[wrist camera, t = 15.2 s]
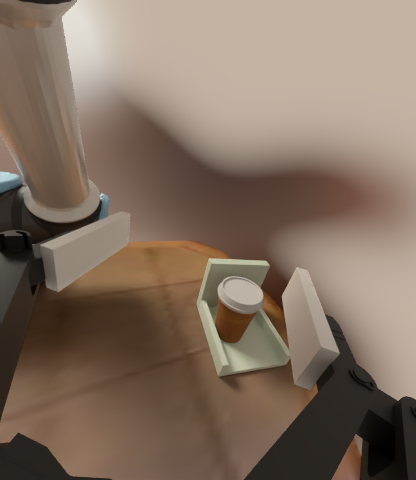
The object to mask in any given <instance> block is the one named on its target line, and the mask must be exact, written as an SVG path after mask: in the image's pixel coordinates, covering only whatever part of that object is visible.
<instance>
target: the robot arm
mask: <svg viewBox="0 0 416 480" xmlns="http://www.w3.org/2000/svg"><path fill="white" fill-rule="evenodd" d="M76 2H77V0H0V135H1V136H2V138H3V140H4V142H5V144H6V146H7V148H8V150H9V152H10V153H11V155H12V157H13V159H14V161H15V163H16V165H17V167H18V169H19V171H20V172H21V174H22V176H23V178H24V180H25V182H26V184H27V185H23V184H22V183H23V181H22V180H21V178H20V177H19V176H18V175H16V174H12V173H8V172H0V420H1V416H2V413H3V410H4V406H5V403H6V399H7V396H8V393H9V389H10V386H11V383H12V379H13V376H14V372H15V369H16V366H17V362H18V359H19V356H20V352H21V349H22V345H23V342H24V339H25V335H26V332H27V329H28V325H29V322H30V318H31V315H32V312H33V308H34V305H35V301H36V298H37V295H38V291H39V286H40V285H41V284H42V283H43V282H44V280H45V281H46V288H49V289H51V290H54V291H56V292H59V291H61V290H62V289H64V288H65V287H66V286H68V285H69V284H71V283H72V282H74V281H75V280H77V279H78V278H80V277H81V276H83V275H84V274H85V273H87V272H88V271H90V270H91V269H93V268H94V267H96V266H97V265H99V264H100V263H102V262H103V261H104V260H106V259H107V258H109V257H110V256H112V255H113V254H115V253H116V252H118V251H119V250H121V249H122V248H123V247H125V246H126V245H128V242H129V226H130V214H129V213H126V212H123V211H121V212H118V213H116V214H113V215H111V216H109V217H107V216H108V206H109V198H108V196H107V195H104V194H102V193H99V190H98V189H97V187H96V186H95V184H94V183H93V182H92V181H90V180H89V179H88V175H87V169H86V163H85V157H84V151H83V144H82V138H81V133H80V126H79V121H78V114H77V108H76V102H75V96H74V90H73V84H72V78H71V72H70V66H69V60H68V54H67V48H66V42H65V36H64V30H63V24H62V16H63V15H64V14H65V13H66V12H67V11H68V10H69V9H70V8H71V7H72V6H73V5H74V4H75V3H76ZM32 244H35V245H32ZM282 300H283V306H284V314H285V321H286V329H287V336H288V343H289V350H290V357H291V365H292V372H293V379H294V384H295V385H298V386H300V387H303V388H305V389H308V390H311V389H312V388H313V387H314V385H315V384H317V388H318V393H317V394H316V395H315V397H314V398H313V399H312V400H311V401H310V403H309V404H308V405H307V406H306V407H305V408H304V410H303V411H302V412H301V413H300V414H299V415H298V417H297V418H296V419H295V420H294V421H293V422H292V424H291V425H290V426H289V427H288V428H287V430H286V431H285V432H284V433H283V434H282V435H281V437H280V438H279V439H278V440H277V441H276V442H275V444H274V445H273V446H272V447H271V448H270V449H269V451H268V452H267V453H266V454H265V455H264V457H263V458H262V459H261V460H260V461H259V462H258V464H257V465H256V466H255V467H254V468H253V469H252V471H251V472H250V473H249V474H248V475H247V476H246V478H245V479H244V480H331V479H332V477H333V475H334V473H335V472H336V470H337V468H338V466H339V464H340V462H341V460H342V458H343V456H344V455H345V453H346V451H347V449H348V447H349V445H350V443H351V441H352V440H353V438H354V436H355V434H357V435H358V436H360V437H361V438H363V443H362V456H361V470H360V480H416V400H415V399H413V398H411V397H407V396H406V397H402V398H401V399H400V400H399V401H397V400H395V399H394V398H392V397H390V396H389V395H387V394H386V393H384V392H383V391H381V390H379V389H378V388H377V385H376V383H375V381H374V380H373V378H372V377H371V376H370V375H369V374H368V373H367V372H366V371H365V370H364V369H363V368H362V367H360V366H358V365H357V364H356V361H355V359H354V357H353V355H352V353H351V350H350V348H349V346H348V344H347V342H346V341H345V340H346V339H345V337H344V335H343V333H342V330H341V328H340V326H339V324H338V323H337V322H336V321H335V320H334V319H333V317H331V316H328V315H325V314H324V311H323V309H322V306H321V304H320V301H319V298H318V296H317V293H316V291H315V288H314V285H313V283H312V280H311V278H310V275H309V273H308V271H307V270H304V269H301V268H298V267H297V268H296V270H295V272H294V274H293V276H292V278H291V280H290V282H289V284H288V286H287V288H286V290H285V292H284V294H283V295H282ZM0 480H112V479H107V478H89V477H73V476H70V475H68V474H67V473H66V471H65V470H64V469H63V467H62V466H61V465H60V464H59V462H58V461H57V460H56V458H55V457H54V456H53V454H52V453H51V452H50V451H49V449H48V448H47V447H46V446H44V445H42V444H40V443H38V442H36V441H34V440H32V439H30V438H28V437H26V436H24V435H22V434H20V433H17V435H16V436H15V437H14V438H13V439H12V440H11V441H10V443H0Z"/></svg>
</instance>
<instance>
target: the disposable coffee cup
mask: <svg viewBox="0 0 416 480" xmlns="http://www.w3.org/2000/svg"><path fill="white" fill-rule="evenodd" d="M263 303H264V300H263V292H262V290H261V289H260V288H259V286H258V285H257V284H255V283H254V282H252V281H251V280H248V279H246V278H243V277H238V276H231V277H227V278H225V279H224V280H223V281H222V282H221V283H220V284H219V286H218V305H217V313H216V322H215V327H216V330H217V333H218V335H219V338H220V339H221V340H223V341H224V342H227V343H236V342H238V341H239V340H240V339H241V337H242V336H243V334H244V332H245V331H246V329H247V327H248V326H249V324H250V322H251V321H252V319H253V317H254V316H255V314H256V312H257V311H258V310H260V309H261V308H262V306H263Z"/></svg>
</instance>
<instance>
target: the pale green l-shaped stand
mask: <svg viewBox="0 0 416 480" xmlns="http://www.w3.org/2000/svg"><path fill="white" fill-rule="evenodd" d="M269 266H270V265H269V264H268V263H267V262H266V261H255V260H233V259H210V258H209V260H208V264H207V267H206V271H205V275H204V278H203V282H202V286H201V289H200V293H199V297H198V301H197V307H198V310H199V314H200V317H201V320H202V324H203V327H204V330H205V334H206V337H207V341H208V344H209V347H210V351H211V354H212V357H213V361H214V364H215V367H216V371H217V374H218V377H219V376H225V375H231V374H237V373H243V372H248V371H254V370H260V369H266V368H272V367H278V366H283V365H286V364H287V363H288V361H289V359H290V358H291V357H290V351H289V349H288V348H287V346H286V345H285V343H284V342H283V340H282V338H281V337H280V335H279V334H278V332H277V331H276V329H275V328H274V326H273V324H272V323H271V321H270V320H269V318H268V317H267V315H266V314H265V312H264V310H263V309H262V308H261V309H260V310H258V311H257V312H256V314H255V316H254V317H253V319H252V321H251V322H250V324H249V326H248V327H247V329H246V331H245V332H244V334H243V336H242V337H241V339H240V340H239V341H238V342H236V343H227V342H224V341H223V340H221V339H220V338H219V335H218V333H217V330H216V327H215V322H216V313H217V305H218V286H219V284H220V283H221V282H222V281H223V280H224V279H225V278H227V277H231V276H238V277H243V278H246V279H248V280H251V281H252V282H254V283H255V284H257V285H258V286H259V288H260V287H261V285H262V282H263V280H264V278H265V275H266V273H267V271H268V269H269Z"/></svg>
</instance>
